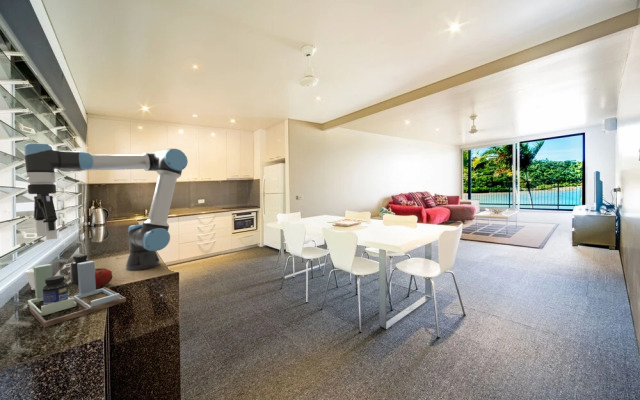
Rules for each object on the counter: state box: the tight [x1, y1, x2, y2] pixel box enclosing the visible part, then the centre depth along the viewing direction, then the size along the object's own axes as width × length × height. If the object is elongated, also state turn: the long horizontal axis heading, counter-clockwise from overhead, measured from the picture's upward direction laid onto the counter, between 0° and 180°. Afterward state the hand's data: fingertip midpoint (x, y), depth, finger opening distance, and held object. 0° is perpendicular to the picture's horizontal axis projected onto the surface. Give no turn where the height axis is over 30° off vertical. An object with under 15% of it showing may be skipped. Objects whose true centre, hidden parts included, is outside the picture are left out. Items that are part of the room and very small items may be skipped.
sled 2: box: [72, 260, 121, 308], centre depth 98 cm, size 9×21×13 cm, turn 57°
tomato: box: [95, 267, 113, 288], centre depth 112 cm, size 9×9×8 cm
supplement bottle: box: [69, 253, 90, 284], centre depth 119 cm, size 7×7×12 cm
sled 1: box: [27, 263, 78, 317], centre depth 94 cm, size 9×21×13 cm, turn 57°
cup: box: [25, 268, 35, 291], centre depth 113 cm, size 7×10×8 cm
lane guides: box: [29, 286, 127, 328], centre depth 93 cm, size 21×20×2 cm
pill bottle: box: [43, 275, 69, 306], centre depth 91 cm, size 6×6×11 cm
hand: (46, 237), depth 102 cm, fingers open, 13 cm apart
